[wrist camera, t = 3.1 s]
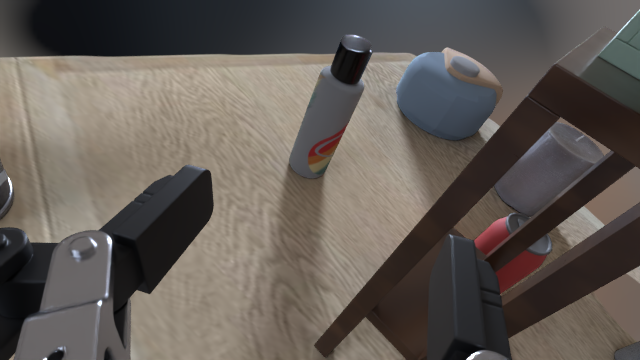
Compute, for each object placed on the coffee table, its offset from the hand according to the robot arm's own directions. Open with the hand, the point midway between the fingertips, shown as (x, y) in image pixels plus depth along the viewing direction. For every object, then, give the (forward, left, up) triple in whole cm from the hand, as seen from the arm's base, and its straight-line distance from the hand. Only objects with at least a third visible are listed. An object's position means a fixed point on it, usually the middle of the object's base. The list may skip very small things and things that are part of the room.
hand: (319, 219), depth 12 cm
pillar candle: (+9, +59, -27) cm, 66 cm away
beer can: (+10, +32, -27) cm, 43 cm away
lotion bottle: (-17, +28, -27) cm, 42 cm away
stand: (+6, +18, -27) cm, 33 cm away
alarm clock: (-14, +66, -27) cm, 73 cm away
